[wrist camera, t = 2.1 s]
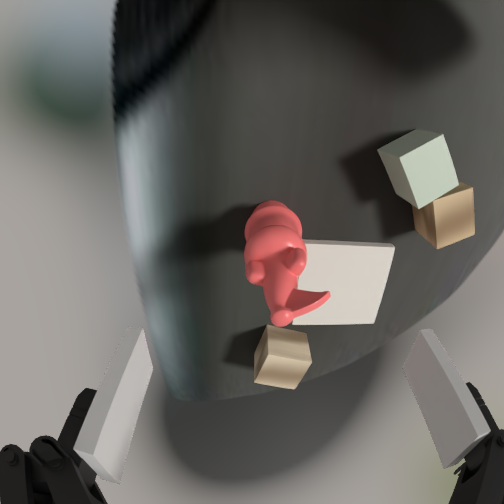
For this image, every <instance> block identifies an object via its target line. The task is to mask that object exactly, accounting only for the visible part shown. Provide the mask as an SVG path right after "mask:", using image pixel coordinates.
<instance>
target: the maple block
mask: <svg viewBox="0 0 504 504" xmlns="http://www.w3.org/2000/svg"><path fill="white" fill-rule="evenodd" d="M311 363H312V360H311V355H310V350H309V344H308V339H307V334H306V333H303V332H298V331H293V330H289V329H284V328H280V327H275V326H271V325H267V326H266V328H265V331H264V333H263V335H262V337H261V340H260V342H259V344H258V346H257V348H256V351H255V353H254V383H259V384H265V385H270V386H276V387H283V388H289V389H295V388H296V386H297V385H298V383H299V382H300V380H301V379H302V377H303V376H304V374H305V373H306V371H307V369H308V368H309V366H310V365H311Z"/></svg>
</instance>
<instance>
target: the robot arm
mask: <svg viewBox="0 0 504 504" xmlns="http://www.w3.org/2000/svg"><path fill="white" fill-rule="evenodd" d="M402 369H403V371H404V373H405V375H406V378H407V380H408V382H409V384H410V386H411V389H412V391H413V393H414V395H415V397H416V400H417V402H418V405H419V407H420V409H421V411H422V414H423V416H424V419H425V421H426V424H427V426H428V428H429V431H430V433H431V436H432V438H433V441H434V444H435V446H436V449H437V451H438V454H439V457H440V459H441V462H442V465H443V468H444V469H445V468H448V467H451V466H453V465H456V464H457V463H459V462H460V461H461V460H462V459H463V458H464V459H465V461H466V462H465V463H463V464H462V465H461V466H460V467H459V468H458V469H457V470H456V471H455V472H454V474H457V473H458V472H459V471H460V470H461V472H460V473H459V474H458V476H459V477H458V480H457V483H456V486H455V489H454V492H453V494H452V496H451V499H450V501H449V504H504V430H503V429H501V430H499V428H498V426H497V425H496V423H495V421H494V419H493V417H492V415H491V413H490V411H489V409H488V408H487V406H486V405H485V403H484V401H483V399H482V398H481V395H480V393H479V392H478V390H477V389H476V388H475V387H474V386H473V385H472V384H471V383H470V382H468V383H465V382H464V380H463V378H462V377H461V375H460V373H459V371H458V370H457V368H456V366H455V365H454V363H453V362H452V360H451V358H450V357H449V355H448V354H447V352H446V350H445V349H444V347H443V346H442V344H441V342H440V341H439V339H438V338H437V336H436V335H435V333H434V332H433V330H432V329H423V330H420V331H419V333H418V335H417V338H416V340H415V342H414V344H413V346H412V349H411V351H410V353H409V355H408V357H407V359H406V362H405V364H404V366H403V368H402ZM152 371H153V366H152V362H151V359H150V355H149V351H148V347H147V343H146V339H145V334H144V331H143V328H139V327H130V326H128V327H127V329H126V331H125V333H124V335H123V337H122V339H121V341H120V343H119V345H118V347H117V349H116V351H115V353H114V355H113V358H112V359H111V362H110V364H109V366H108V368H107V370H106V373H105V374H104V377H103V379H102V381H101V384H100V386H99V388H98V390H93V389H89V388H85V389H84V390H83V391H82V392H81V393H80V394H79V395H78V396H77V398H76V401H75V403H74V405H73V408H72V409H71V411H70V415H69V416H68V418H67V420H66V422H65V424H64V427H63V429H62V431H61V433H60V436H59V438H58V441H57V440H55V439H54V438H53V437H50V436H40V437H38V438H36V439H35V440H34V441H33V442H32V443H31V446H30V452H24V451H23V450H22V449H21V448H19V447H18V446H17V445H13V444H10V445H6V446H5V447H3V448H2V450H1V451H0V502H1V504H107V502H106V500H105V498H104V496H103V494H102V492H101V491H100V489H99V487H98V485H97V483H96V482H95V478H96V475H98V476H99V477H100V478H101V479H103V480H106V481H110V482H114V483H117V484H120V480H121V475H122V472H123V468H124V464H125V461H126V457H127V453H128V450H129V446H130V443H131V439H132V436H133V432H134V429H135V425H136V422H137V418H138V415H139V412H140V409H141V406H142V402H143V399H144V396H145V392H146V390H147V386H148V383H149V380H150V377H151V374H152Z"/></svg>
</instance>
